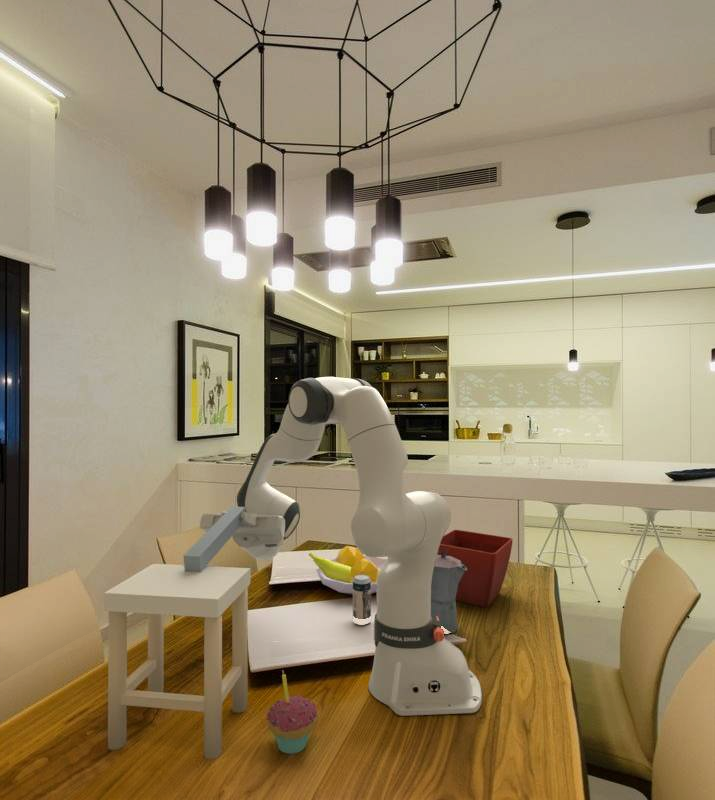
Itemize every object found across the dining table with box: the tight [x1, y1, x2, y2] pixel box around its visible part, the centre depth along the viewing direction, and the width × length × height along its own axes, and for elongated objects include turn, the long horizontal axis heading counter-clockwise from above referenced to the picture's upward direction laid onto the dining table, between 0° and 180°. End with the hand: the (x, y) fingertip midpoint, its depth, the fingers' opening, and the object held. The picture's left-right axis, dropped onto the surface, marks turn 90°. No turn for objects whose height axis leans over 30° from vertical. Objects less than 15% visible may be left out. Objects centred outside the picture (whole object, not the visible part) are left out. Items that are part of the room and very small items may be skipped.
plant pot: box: [437, 529, 514, 608], centre depth 146 cm, size 19×19×17 cm
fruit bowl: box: [308, 545, 387, 595], centre depth 154 cm, size 28×27×11 cm
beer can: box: [352, 574, 372, 619], centre depth 128 cm, size 5×5×12 cm
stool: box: [103, 563, 251, 761], centre depth 87 cm, size 20×15×26 cm
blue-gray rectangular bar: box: [183, 506, 245, 572], centre depth 103 cm, size 3×24×3 cm, turn 173°
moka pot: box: [431, 550, 467, 634], centre depth 126 cm, size 10×15×20 cm, turn 58°
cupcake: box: [266, 669, 319, 754], centre depth 83 cm, size 9×8×12 cm
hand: (233, 515), depth 111 cm, fingers closed on blue-gray rectangular bar, 3 cm apart
